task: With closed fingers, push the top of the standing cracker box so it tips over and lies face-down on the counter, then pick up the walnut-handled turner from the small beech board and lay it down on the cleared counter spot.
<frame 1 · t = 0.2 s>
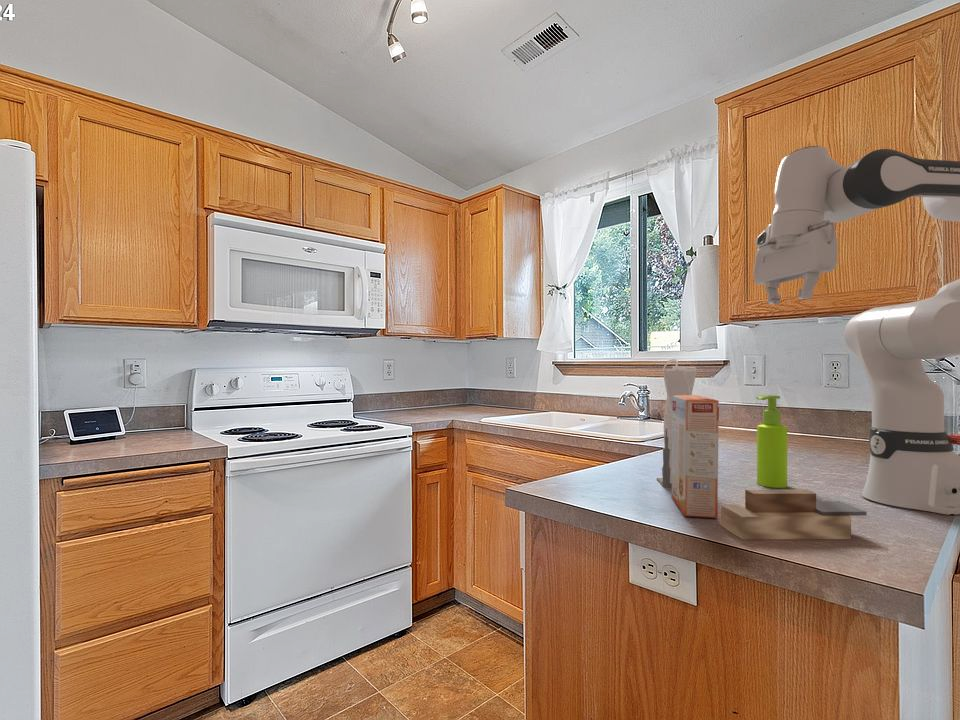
hand: (788, 301, 102), 39 cm above the table, tool pointing down, fingers open, 8 cm apart
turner: (780, 510, 84), point 3 cm above the table, touching beech board
skyscraper: (677, 483, 118), on the table
soap dispenser: (770, 485, 116), on the table
cracker box: (693, 509, 98), on the table
beech board: (783, 531, 84), on the table
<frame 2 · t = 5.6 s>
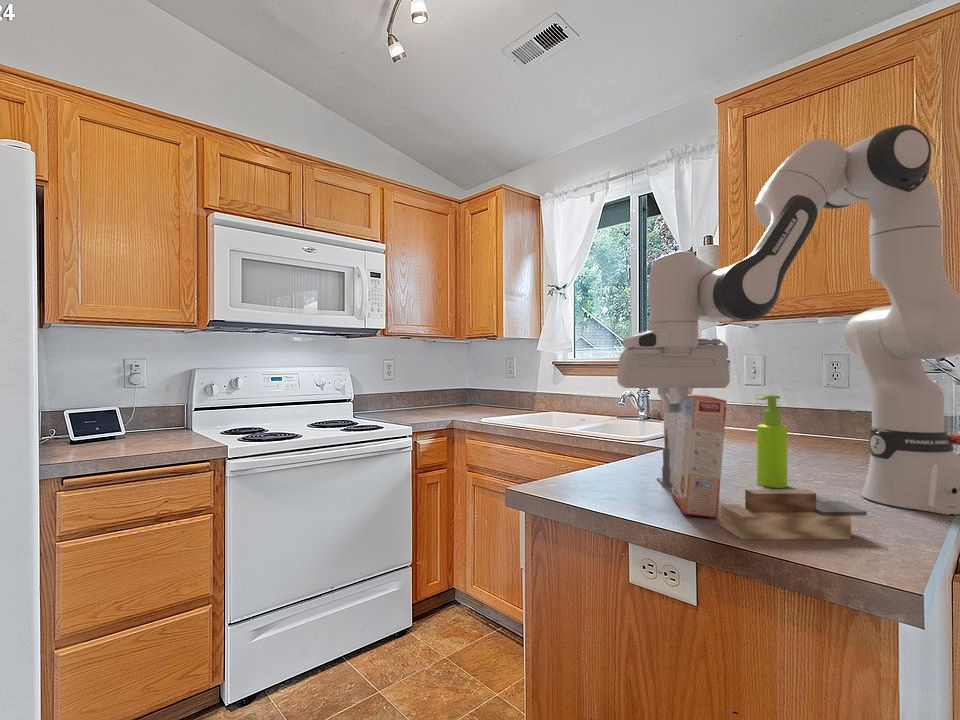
hand: (672, 412, 98), 18 cm above the table, tool pointing down, fingers closed
cracker box: (693, 507, 98), on the table, touching gripper
everything else where it was.
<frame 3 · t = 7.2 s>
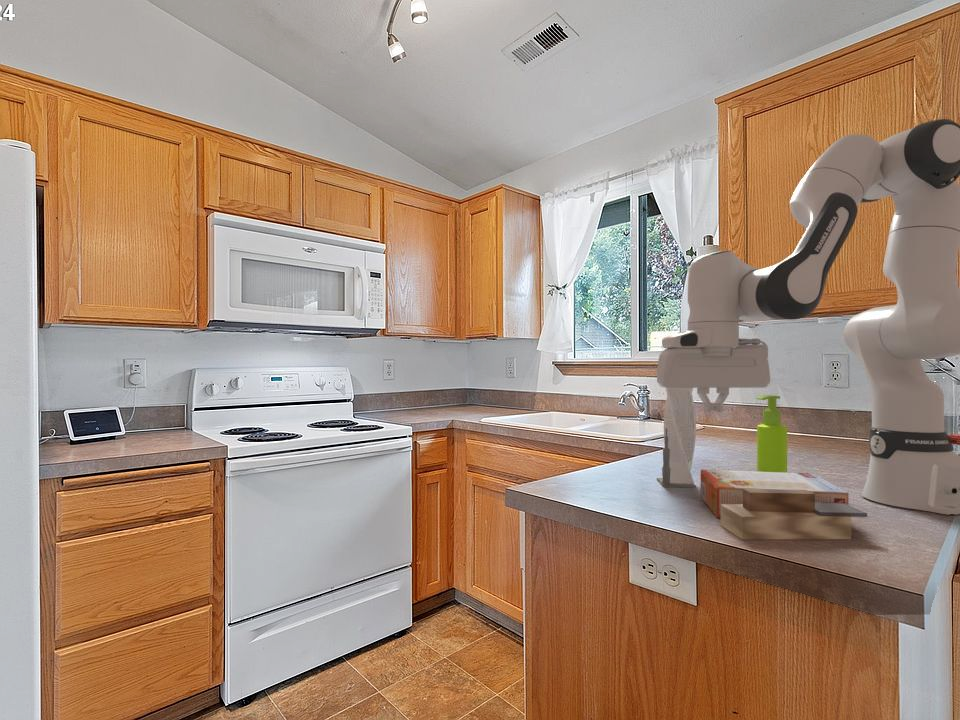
hand: (713, 412, 98), 18 cm above the table, tool pointing down, fingers closed
cracker box: (706, 492, 98), point 3 cm above the table
everything else where it was.
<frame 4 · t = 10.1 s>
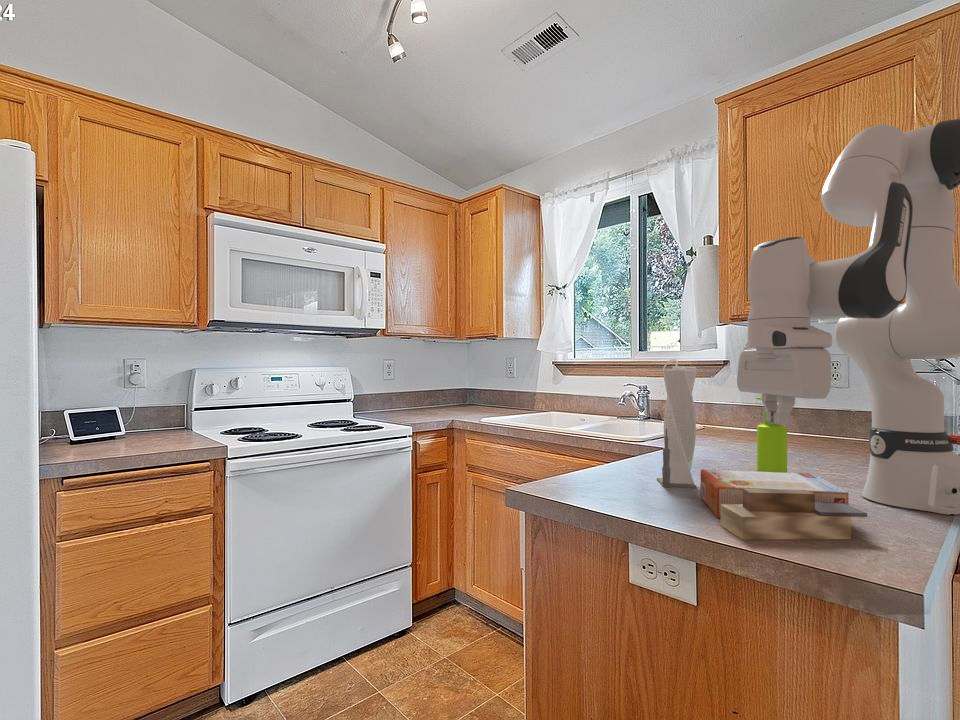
hand: (777, 423, 84), 17 cm above the table, tool pointing down, fingers closed
nothing on the table moved.
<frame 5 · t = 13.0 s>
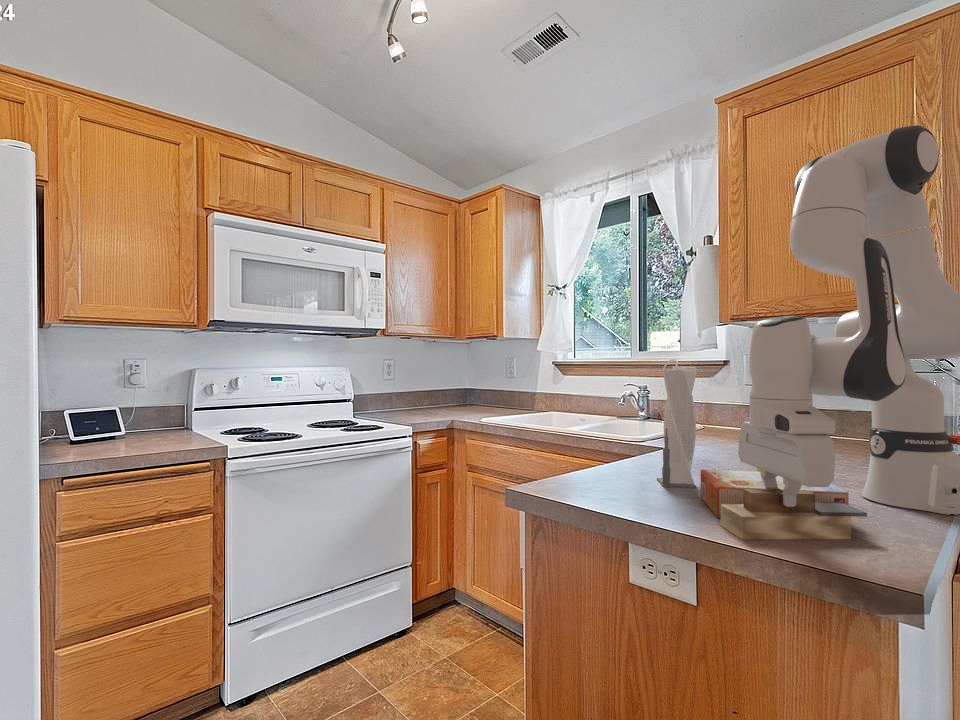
hand: (780, 502, 84), 5 cm above the table, tool pointing down, fingers closed on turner, 3 cm apart
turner: (778, 510, 84), point 4 cm above the table, touching beech board, gripper
everything else where it was.
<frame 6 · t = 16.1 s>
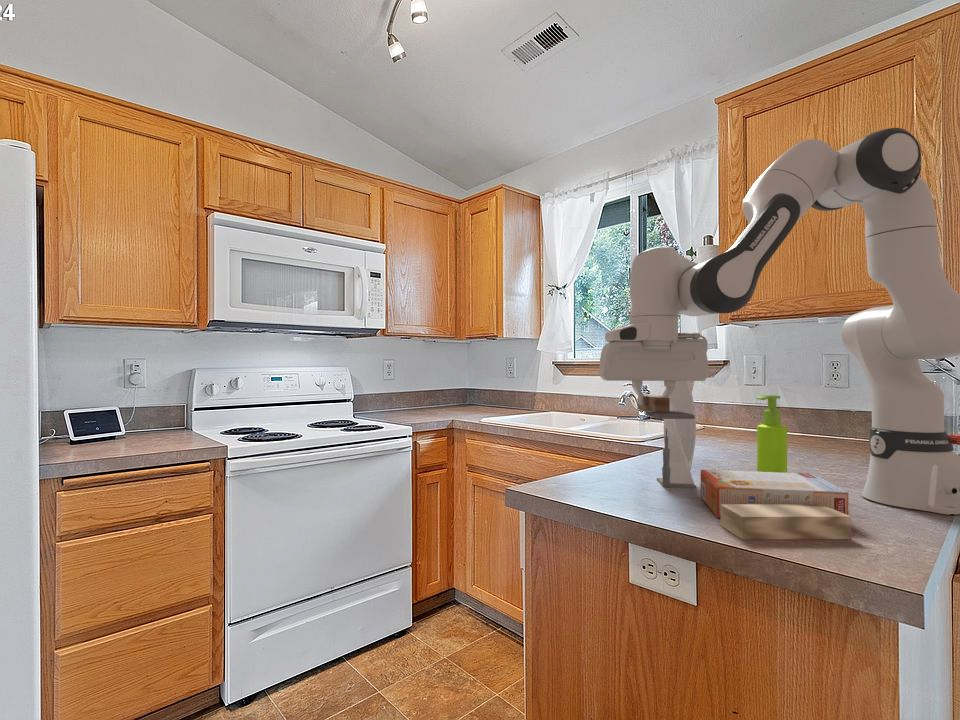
hand: (653, 404, 100), 19 cm above the table, tool pointing down, fingers closed on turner, 3 cm apart
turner: (652, 411, 100), point 18 cm above the table, touching gripper
everything else where it was.
when the fingers open (2 cm above the table, at t = 19.4 s): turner drops 1 cm, on the table.
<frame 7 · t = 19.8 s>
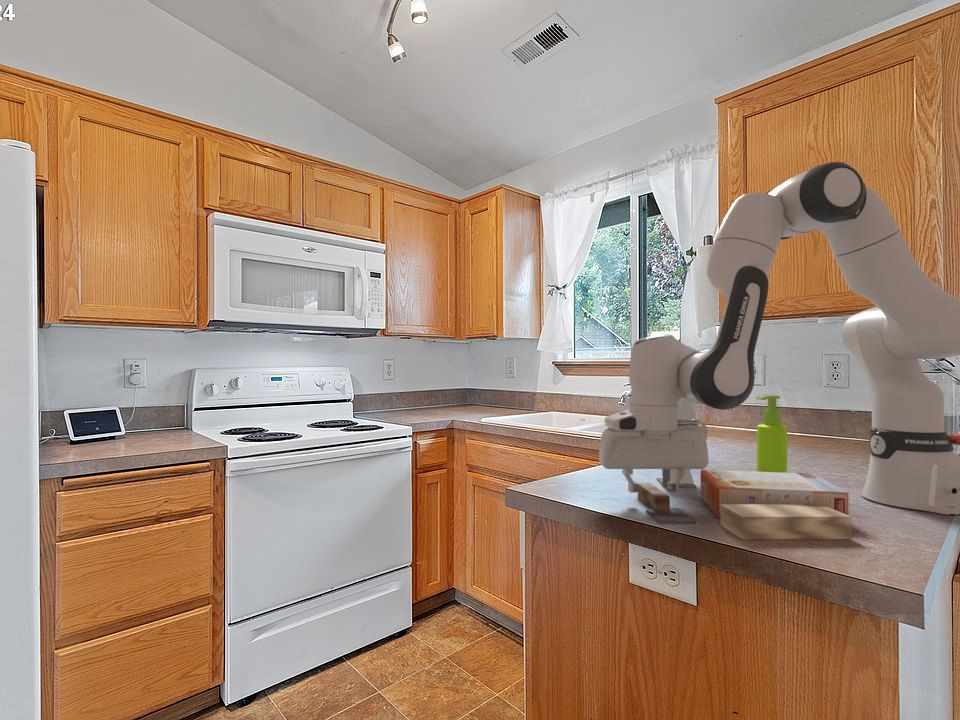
hand: (653, 491, 100), 2 cm above the table, tool pointing down, fingers open, 6 cm apart
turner: (652, 505, 100), on the table
everything else where it was.
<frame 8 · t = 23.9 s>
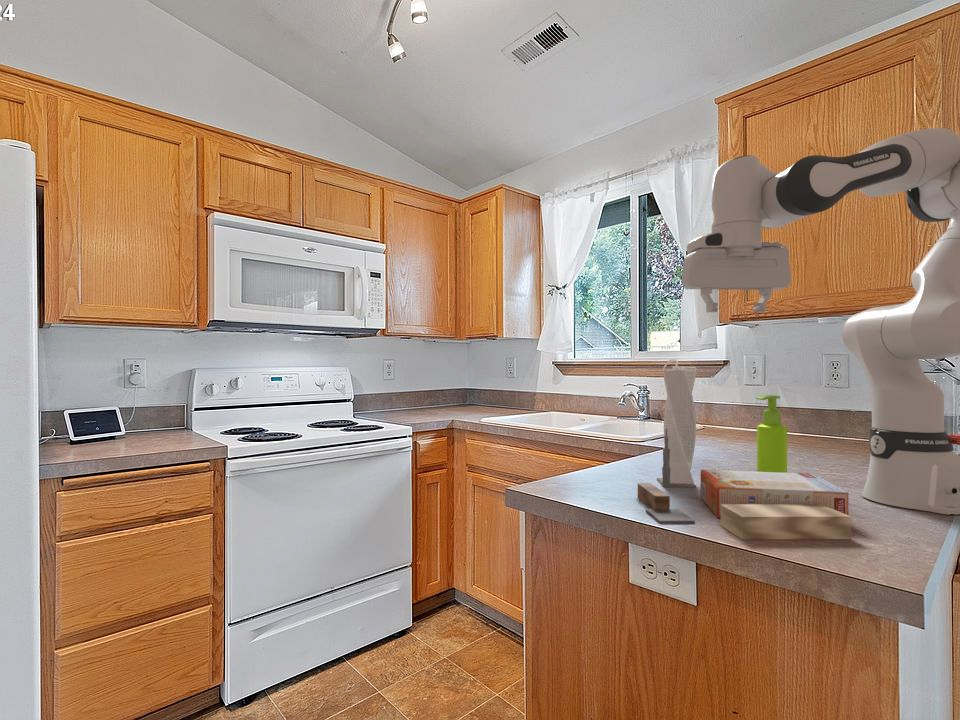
hand: (735, 312, 102), 37 cm above the table, tool pointing down, fingers open, 8 cm apart
nothing on the table moved.
at the end: cracker box tilted 89°; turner inside the target area (0.3 cm from its centre), on the table; the gripper is holding nothing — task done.
